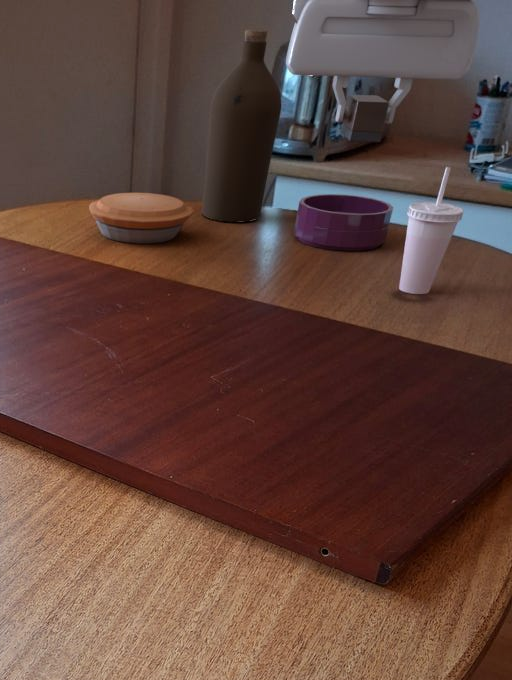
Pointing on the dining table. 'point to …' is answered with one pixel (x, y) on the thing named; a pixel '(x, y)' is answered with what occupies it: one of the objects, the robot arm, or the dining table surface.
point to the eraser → (365, 118)
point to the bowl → (342, 222)
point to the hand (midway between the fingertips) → (363, 122)
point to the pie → (140, 217)
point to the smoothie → (427, 241)
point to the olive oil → (241, 136)
